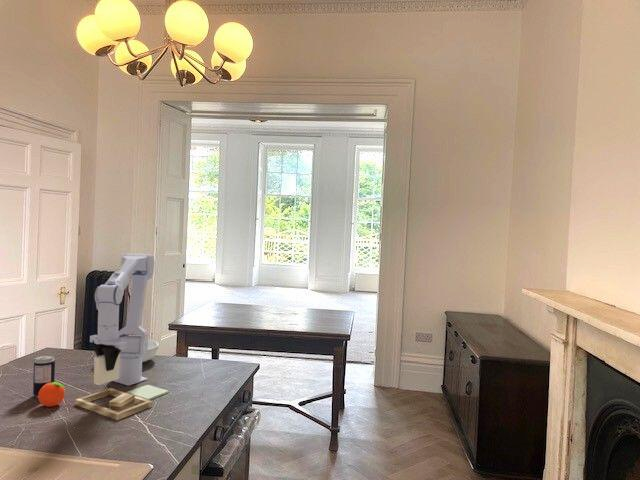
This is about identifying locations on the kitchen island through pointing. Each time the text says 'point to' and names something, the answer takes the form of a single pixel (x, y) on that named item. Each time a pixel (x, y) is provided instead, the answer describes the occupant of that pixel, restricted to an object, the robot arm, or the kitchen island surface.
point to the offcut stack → (122, 402)
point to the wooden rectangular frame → (87, 404)
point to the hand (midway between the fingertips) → (107, 369)
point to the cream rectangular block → (100, 370)
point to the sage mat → (148, 392)
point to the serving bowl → (150, 350)
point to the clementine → (51, 394)
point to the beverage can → (43, 372)
